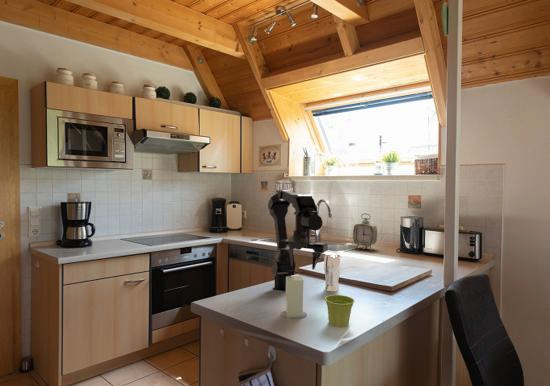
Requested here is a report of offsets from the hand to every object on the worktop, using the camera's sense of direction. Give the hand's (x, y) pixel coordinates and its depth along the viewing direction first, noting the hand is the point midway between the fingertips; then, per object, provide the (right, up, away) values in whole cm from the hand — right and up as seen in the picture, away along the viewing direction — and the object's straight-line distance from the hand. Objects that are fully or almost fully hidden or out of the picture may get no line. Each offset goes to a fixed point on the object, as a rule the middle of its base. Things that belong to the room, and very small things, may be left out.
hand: (302, 268), depth 145 cm
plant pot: (+10, -14, -23) cm, 29 cm away
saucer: (-4, -14, -16) cm, 21 cm away
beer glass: (+14, -13, +17) cm, 25 cm away
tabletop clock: (+52, -11, +117) cm, 129 cm away
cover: (-4, -13, -16) cm, 21 cm away
